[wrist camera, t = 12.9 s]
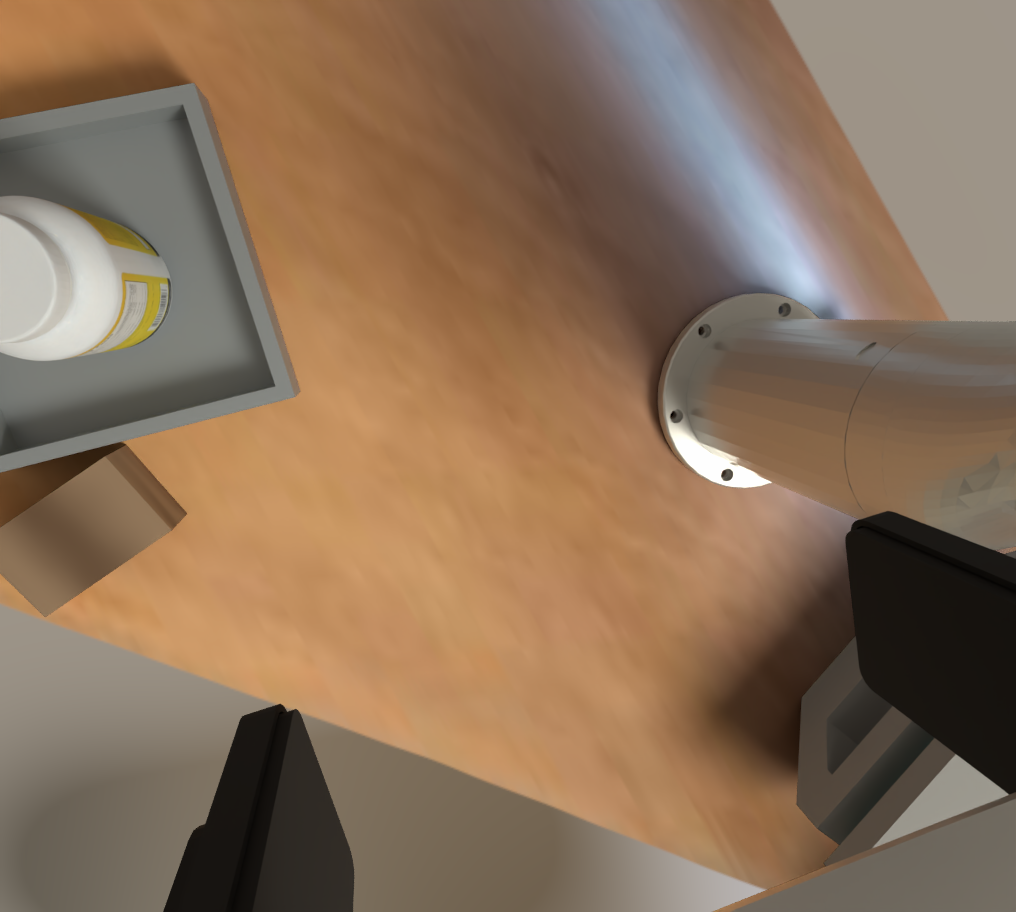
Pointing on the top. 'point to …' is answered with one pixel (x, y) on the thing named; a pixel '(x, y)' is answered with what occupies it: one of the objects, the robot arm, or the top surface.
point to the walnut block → (85, 530)
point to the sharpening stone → (875, 765)
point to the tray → (188, 257)
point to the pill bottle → (75, 282)
